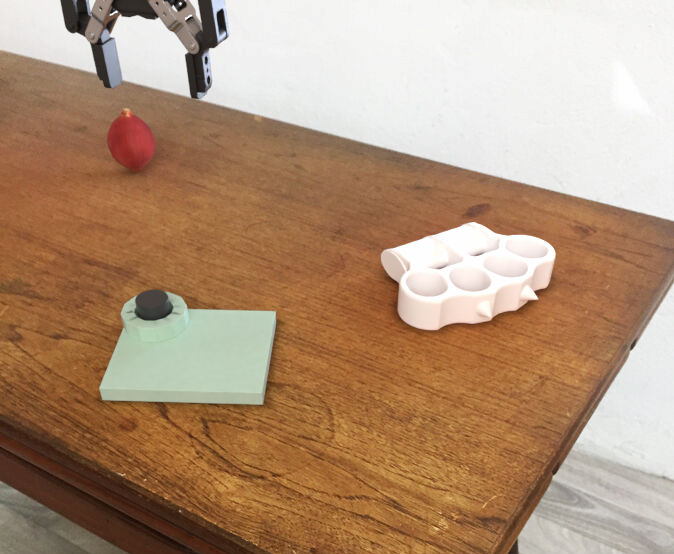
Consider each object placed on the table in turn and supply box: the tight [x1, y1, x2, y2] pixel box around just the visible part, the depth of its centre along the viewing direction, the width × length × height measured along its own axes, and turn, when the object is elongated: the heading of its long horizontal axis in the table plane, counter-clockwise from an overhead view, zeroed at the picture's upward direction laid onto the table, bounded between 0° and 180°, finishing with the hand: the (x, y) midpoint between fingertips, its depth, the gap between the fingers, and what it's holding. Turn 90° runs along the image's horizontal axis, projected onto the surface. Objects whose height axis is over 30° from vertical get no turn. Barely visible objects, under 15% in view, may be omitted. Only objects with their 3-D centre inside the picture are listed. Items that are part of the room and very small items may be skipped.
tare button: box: [135, 289, 171, 321], centre depth 69 cm, size 3×3×2 cm
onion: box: [106, 107, 157, 174], centre depth 93 cm, size 6×6×8 cm
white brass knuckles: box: [380, 221, 556, 331], centre depth 76 cm, size 3×18×15 cm
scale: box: [98, 291, 277, 406], centre depth 68 cm, size 14×12×3 cm
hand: (156, 90), depth 67 cm, fingers open, 8 cm apart
